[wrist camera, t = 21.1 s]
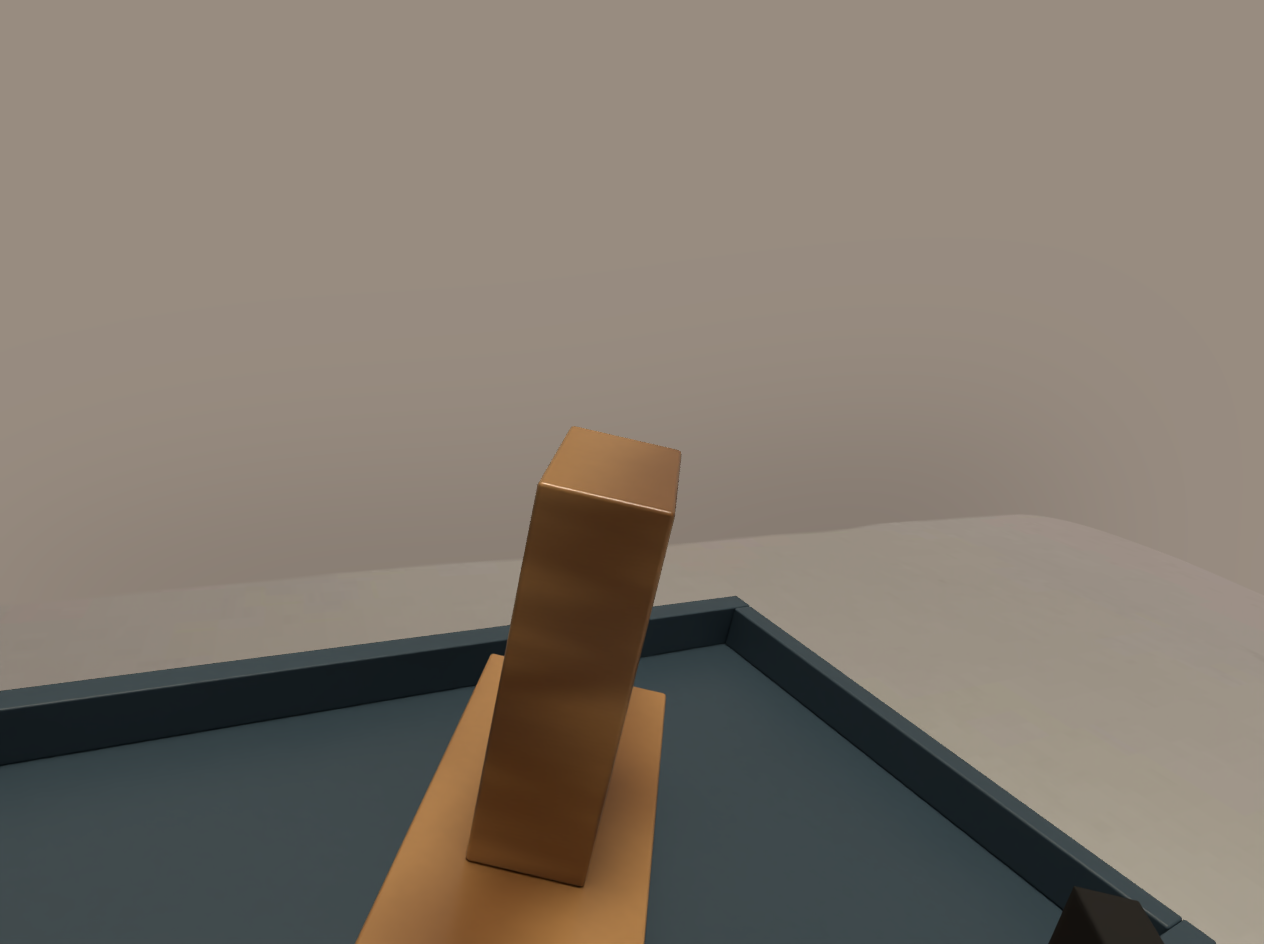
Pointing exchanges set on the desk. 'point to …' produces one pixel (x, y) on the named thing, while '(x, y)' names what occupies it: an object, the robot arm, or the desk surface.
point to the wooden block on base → (553, 730)
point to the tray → (409, 756)
